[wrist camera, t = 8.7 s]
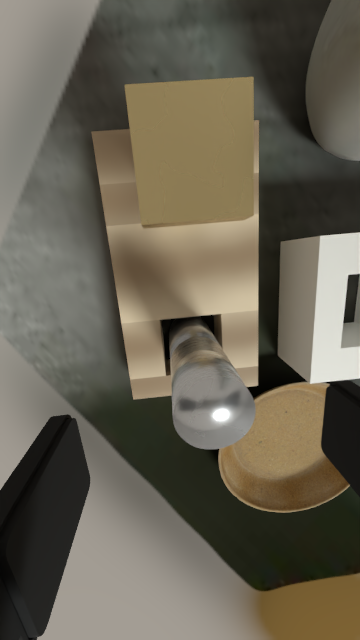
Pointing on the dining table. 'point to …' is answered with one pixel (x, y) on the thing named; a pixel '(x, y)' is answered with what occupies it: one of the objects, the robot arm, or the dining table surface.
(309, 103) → the glass bottle
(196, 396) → the clear glass vial
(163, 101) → the gold square peg
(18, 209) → the dining table surface
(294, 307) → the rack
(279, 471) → the plant saucer
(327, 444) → the robot arm
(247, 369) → the socket block
